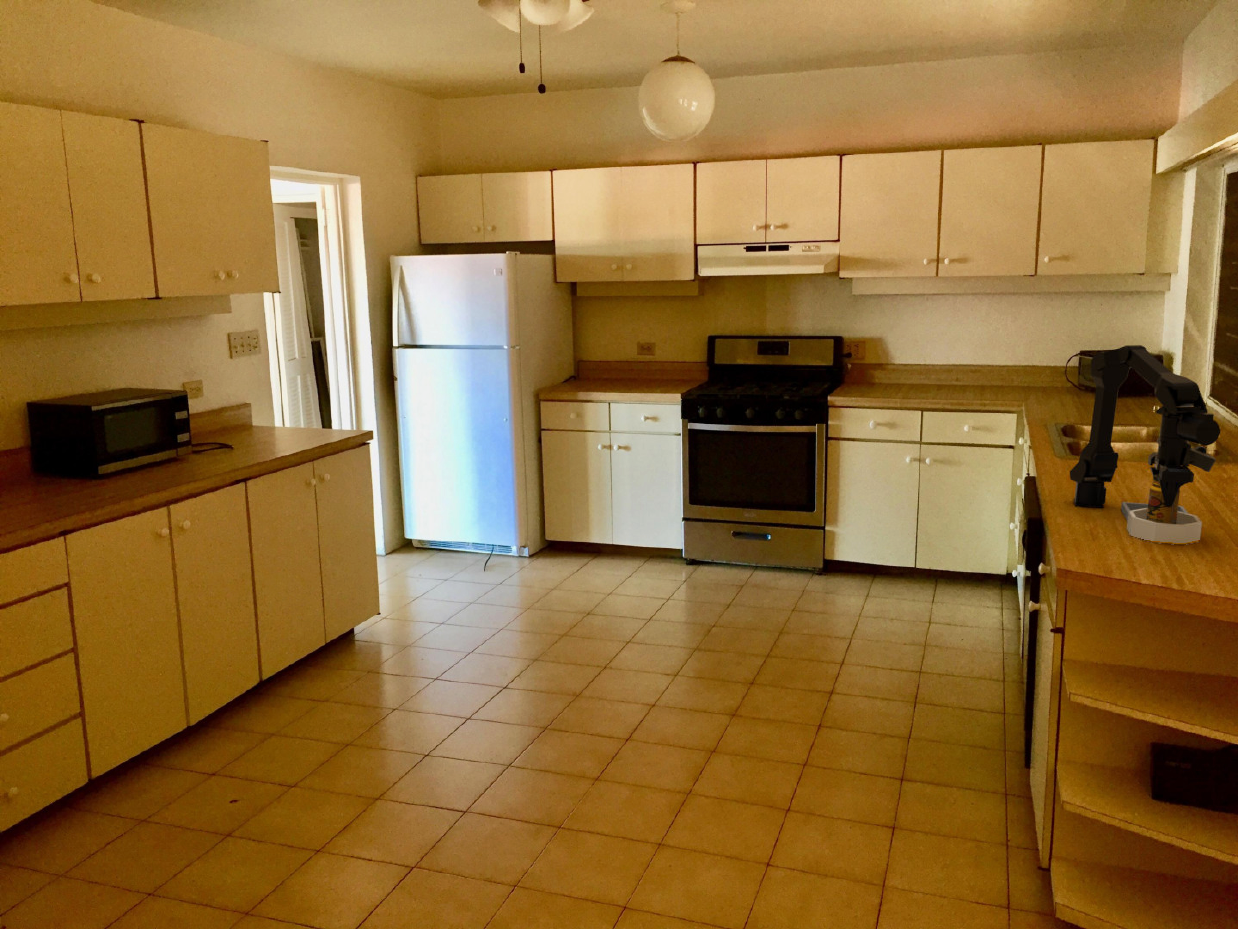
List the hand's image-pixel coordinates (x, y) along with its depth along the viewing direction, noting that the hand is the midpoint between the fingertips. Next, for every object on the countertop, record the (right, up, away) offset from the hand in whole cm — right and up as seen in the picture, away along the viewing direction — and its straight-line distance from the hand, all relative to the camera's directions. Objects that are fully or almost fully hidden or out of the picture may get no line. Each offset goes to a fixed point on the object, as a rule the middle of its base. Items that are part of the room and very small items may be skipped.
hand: (1165, 503), depth 223 cm
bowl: (0, -7, +2) cm, 8 cm away
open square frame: (+6, -4, +15) cm, 17 cm away
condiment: (0, -5, +2) cm, 6 cm away
